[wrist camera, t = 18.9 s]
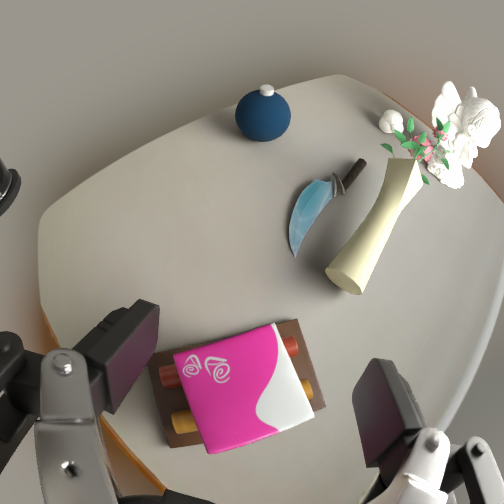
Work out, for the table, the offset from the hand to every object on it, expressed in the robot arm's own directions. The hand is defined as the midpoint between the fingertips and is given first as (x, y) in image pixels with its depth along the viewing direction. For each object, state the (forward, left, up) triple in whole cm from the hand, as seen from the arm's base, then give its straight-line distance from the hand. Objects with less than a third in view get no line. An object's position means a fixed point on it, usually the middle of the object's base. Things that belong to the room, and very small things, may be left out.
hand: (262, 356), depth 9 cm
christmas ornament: (+12, +33, -19) cm, 40 cm away
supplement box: (-1, -1, -16) cm, 16 cm away
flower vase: (+27, +15, -19) cm, 36 cm away
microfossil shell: (+40, +33, -19) cm, 55 cm away
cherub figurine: (+49, +23, -19) cm, 57 cm away
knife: (+17, +19, -19) cm, 32 cm away
